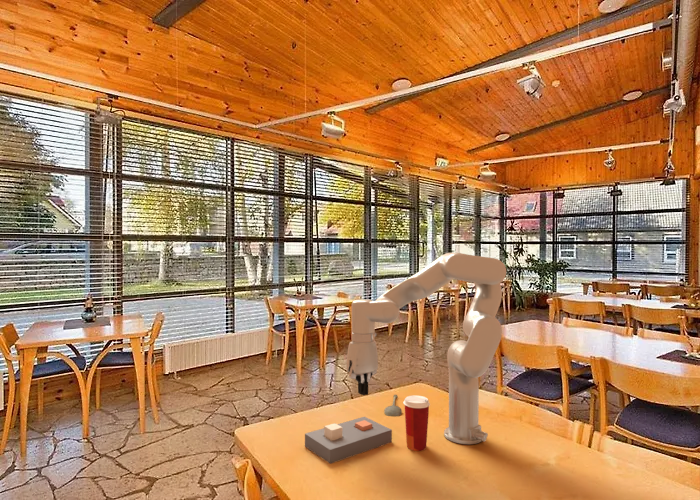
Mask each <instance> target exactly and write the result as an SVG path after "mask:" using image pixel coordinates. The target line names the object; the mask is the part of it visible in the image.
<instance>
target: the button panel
mask: <svg viewBox="0 0 700 500" xmlns="http://www.w3.org/2000/svg"><path fill="white" fill-rule="evenodd" d="M363 420H365V421H367V422H369V423H371V424H372V429H369V430H365V431H361V430H359V429H357V428H355V423H357V422H360V421H363ZM336 424H337V425H339V426H341V427H342V438H340V439H337V440H333V441H330V440H329V439H327V438H325V437H324V427H323V428H320V429H316V430H313V431H310V432H306V433H304V448H307V449H308V450H309V451H311V452H312V453H314V454H315V455H316V456H318V457H320V459H322V460H324V461H326V462H327V463H329V464H333V463H336V462H339V461H342V460H344V459H347V458H350V457H353V456H356V455H359V454H361V453H365V452H367V451H371V450H373V449H377V448H380V447H383V446H385V445H387V444H390V443H392V442H393V440H392V439H393V437H392V436H393V435H392V434H393V433H392V432H393V430H392V429H391V428H389V427H387V426H385V425H383V424H381V423H378V422H376V421H374V420H372V419H371V418H368V417H366V416H361V417H358V418H355V419H352V420H349V421H344V422H341V423H336Z"/></svg>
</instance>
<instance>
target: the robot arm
mask: <svg viewBox="0 0 700 500" xmlns="http://www.w3.org/2000/svg"><path fill="white" fill-rule="evenodd" d="M506 276H507V268H506V265H505V264H504V262H502V261H501V260H500V259H498V258H495V257H494V258H493V257H488V256H480V255H473V254H468V253H461V252H446V253H444V254H442V255H441V256H439V257H438V258H436V259H435V260H434V261H432V262H431V263H429V264H428V265H426V266H425V267H423V268H422V269H420V270H419V271H417V272H416V273H414V274H413V275H412V276H410V277H408V278H406V279H404V280H403V281H401V282H400V283H398V284H396V285H395V286H393V287H392V288H390V289H389V290H387V291H386V292H384V293H383V294H382V295H380V296H379V297H378V298H376V299H375V301H373V300H371V299H365V298H364V299H363V298H362V299H359V298H358V299H355V300H353V301H352V303H351V341H350V342H349V344H348V348H347V355H346V372H348V373H349V374H348V378H350V379H353V380H354V379H355V380H356V382H357V393H358V394H359V395H361V396H368V395H369V383H370V381H371V378H372V377H373V375H375V374H377V372H378V371H377V370H378V369H379V354H378V353H379V352H378V345H377V342H376V340H375V338H376V337H377V332H376V331H375V329H376V328H375V327H376V326H375V324H376V323H380V324H393V323H394V322H396V321H397V320H398V318H399V317H400V309H402V308H403V307H405V306H406V305H408V304H410V303H412V302H415V301H418V300H423V299H426V298H428V297H430V296H432V295H433V294H435V293H436V292H437V291H438V290H440V289H441V288H443V287H444V286H446V285H447V284H449V283H450V282H452V281H453V280H457V281H463V282H468V283H474V285H475V286H474V287H475V292H474V297H473V299H472V302H471V304H470V307H469V308H468V311H467V313H466V315H465V318H464V320H463V322H462V331H463V332H464V334H465V335H466V337H468V339H467V340H463V339H462V340H461V339H459V340H456V341H453V342H452V343H451V344H450V345H449V347H448V349H447V353H446V360H447V369H448V427H446V428H445V429H444V431H443V435H444V437H445V438H446V439H447V440H448V441H450V442H453V443H457V444H461V445H474V444H475V445H476V444H479V443H481V442H486V441H487V438H488V436H489V434H488V432H485V431H482V425H481V424H479V404H480V403H479V391H480V389H479V388H480V387H479V377H482V376H483V375H484V374H485V373H486V372H487V371H488V369H489V368H490V365H491V363H492V361H493V358H494V356H495V354H496V352H497V349H498V347H499V345H500V342H501V339H502V337H503V336H502V335H503V327H502V324H501V322H500V321H499V320H498V318H497V317H496V316H497V313H498V310H499V309H500V305H501V303H502V296H503V291H502V286H501V283H502V282H503V281H504V280H505V278H506Z"/></svg>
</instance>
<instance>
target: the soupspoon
mask: <svg viewBox="0 0 700 500" xmlns="http://www.w3.org/2000/svg"><path fill="white" fill-rule="evenodd" d="M397 398H398V394H393V401H392V404H391V405H389V406H386V407H385V408H384V411H383V412H384V414H385V416H388V417H394V418H395V417H396V418H397V417H400V416H401V415H402V408H401V407H399V406H398V405H396V399H397Z"/></svg>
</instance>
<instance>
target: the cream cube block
mask: <svg viewBox="0 0 700 500" xmlns="http://www.w3.org/2000/svg"><path fill="white" fill-rule="evenodd" d="M337 424H338V423H330V424H327V425H324V426H323V428H324V437H325V438H327V439H329V440H330V441H333V440H337V439H340V438H342V427H341V426H339V425H337Z"/></svg>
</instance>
